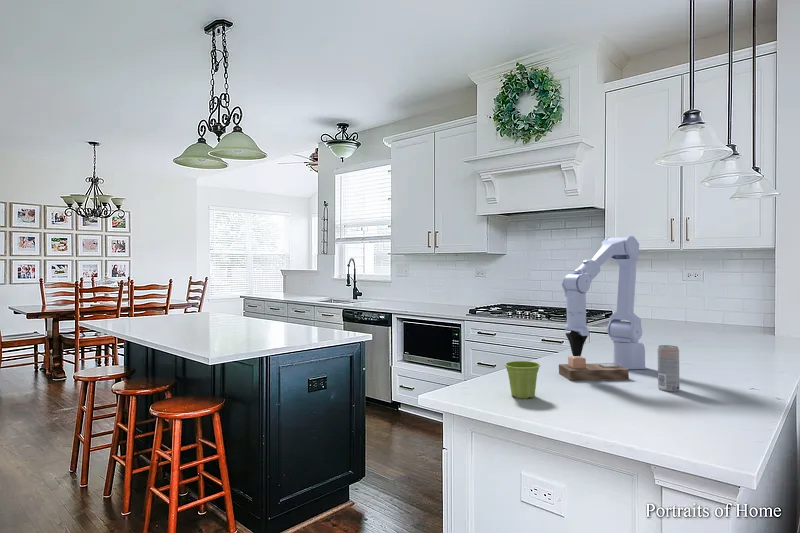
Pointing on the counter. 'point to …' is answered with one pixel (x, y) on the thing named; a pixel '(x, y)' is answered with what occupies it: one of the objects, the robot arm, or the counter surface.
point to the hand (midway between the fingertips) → (576, 355)
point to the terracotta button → (576, 362)
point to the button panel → (593, 372)
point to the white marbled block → (608, 365)
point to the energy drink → (668, 368)
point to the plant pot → (522, 378)
